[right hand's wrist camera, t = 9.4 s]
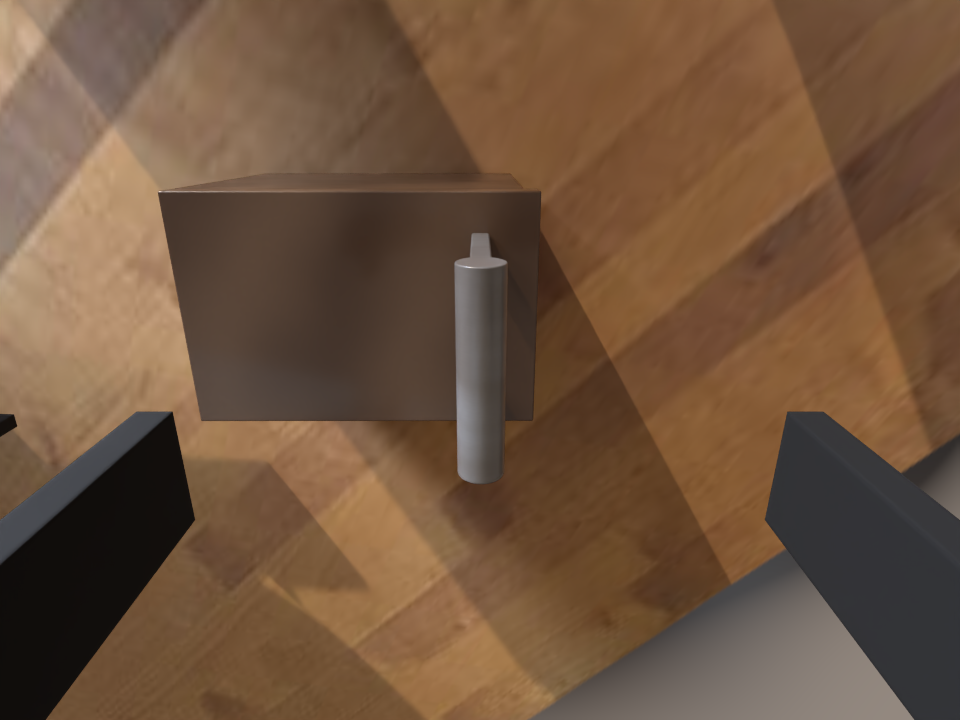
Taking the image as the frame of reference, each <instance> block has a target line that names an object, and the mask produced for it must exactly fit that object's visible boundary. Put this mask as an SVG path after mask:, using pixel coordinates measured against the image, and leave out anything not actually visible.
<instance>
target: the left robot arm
mask: <svg viewBox="0 0 960 720" xmlns="http://www.w3.org/2000/svg"><path fill="white" fill-rule="evenodd" d="M15 427H17V424H16V420H15V416H14V414H0V437H1V436H2V435H4V434H6V433H7V432H9V431H10V430H12V429H14V428H15Z"/></svg>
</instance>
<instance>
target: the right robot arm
mask: <svg viewBox="0 0 960 720" xmlns="http://www.w3.org/2000/svg"><path fill="white" fill-rule="evenodd" d="M194 521H195V517H194V512H193V507H192V503H191V498H190V493H189V488H188V484H187V479H186V474H185V469H184V464H183V460H182V455H181V450H180V445H179V440H178V436H177V431H176V426H175V421H174V416H173V412H136V413H134V414H133V415H132V416H131V417H129V418H128V419H127V420H126V421H124V422H123V423H122V424H121V425H119V426H118V427H117V428H116V429H114V430H113V431H112V432H111V433H109V434H108V435H107V436H105V437H104V438H103V439H102V440H100V441H99V442H98V443H97V444H95V445H94V446H93V447H92V448H90V449H89V450H88V451H87V452H85V453H84V454H83V455H82V456H80V457H79V458H78V459H77V460H75V461H74V462H73V463H72V464H70V465H69V466H68V467H66V468H65V469H64V470H63V471H61V472H60V473H59V474H58V475H56V476H55V477H54V478H53V479H51V480H50V481H49V482H48V483H46V484H45V485H44V486H43V487H41V488H40V489H39V490H38V491H36V492H35V493H34V494H33V495H31V496H30V497H29V498H27V499H26V500H25V501H24V502H22V503H21V504H20V505H19V506H17V507H16V508H15V509H14V510H12V511H11V512H10V513H9V514H7V515H6V516H5V517H4V518H2V519H1V520H0V720H46V718H47V717H48V716H49V714H50V713H51V712H52V710H53V709H54V708H55V706H56V705H57V704H58V702H59V701H60V700H61V698H62V697H63V696H64V694H65V693H66V692H67V690H68V689H69V688H70V686H71V685H72V684H73V682H74V681H75V680H76V678H77V677H78V676H79V674H80V673H81V672H82V670H83V669H84V668H85V666H86V665H87V664H88V662H89V661H90V660H91V658H92V657H93V656H94V654H95V653H96V652H97V650H98V649H99V648H100V646H101V645H102V644H103V642H104V641H105V640H106V638H107V637H108V636H109V634H110V633H111V632H112V630H113V629H114V628H115V626H116V625H117V624H118V622H119V621H120V620H121V618H122V617H123V616H124V614H125V613H126V612H127V610H128V609H129V607H130V606H131V605H132V603H133V602H134V601H135V599H136V598H137V597H138V595H139V594H140V593H141V591H142V590H143V589H144V587H145V586H146V585H147V583H148V582H149V581H150V579H151V578H152V577H153V575H154V574H155V573H156V571H157V570H158V569H159V567H160V566H161V565H162V563H163V562H164V561H165V559H166V558H167V557H168V555H169V554H170V553H171V551H172V550H173V549H174V547H175V546H176V545H177V543H178V542H179V541H180V539H181V538H182V537H183V535H184V534H185V533H186V531H187V530H188V529H189V527H190V526H191V525H192V523H193V522H194ZM765 521H766V522H767V523H768V525H769V526H770V527H771V529H772V530H773V531H774V533H775V534H776V535H777V537H778V538H779V539H780V541H781V542H782V543H783V545H784V546H785V547H786V549H787V550H788V551H789V553H790V554H791V555H792V557H793V558H794V559H795V561H796V562H797V563H798V565H799V566H800V567H801V569H802V570H803V571H804V573H805V574H806V575H807V577H808V578H809V579H810V581H811V582H812V583H813V585H814V586H815V587H816V589H817V590H818V591H819V593H820V594H821V595H822V597H823V598H824V599H825V601H826V602H827V603H828V605H829V606H830V607H831V609H832V610H833V612H834V613H835V614H836V616H837V617H838V618H839V620H840V621H841V622H842V623H843V625H844V626H845V628H846V629H847V630H848V632H849V633H850V634H851V636H852V637H853V638H854V640H855V641H856V642H857V644H858V645H859V646H860V648H861V649H862V650H863V652H864V653H865V654H866V656H867V657H868V658H869V660H870V661H871V662H872V664H873V665H874V666H875V668H876V669H877V670H878V672H879V673H880V674H881V676H882V677H883V678H884V680H885V681H886V682H887V684H888V685H889V686H890V688H891V689H892V690H893V692H894V693H895V694H896V696H897V697H898V698H899V700H900V701H901V702H902V704H903V705H904V706H905V708H906V709H907V710H908V712H909V713H910V714H911V716H912V717H913V718H914V720H960V520H959V519H958V518H956V517H955V516H954V515H953V514H951V513H950V512H949V511H948V510H946V509H945V508H944V507H943V506H941V505H940V504H939V503H938V502H936V501H935V500H934V499H933V498H931V497H930V496H929V495H927V494H926V493H925V492H924V491H922V490H921V489H920V488H919V487H917V486H916V485H915V484H914V483H912V482H911V481H910V480H909V479H907V478H906V477H905V476H904V475H902V474H901V473H900V472H899V471H897V470H896V469H895V468H894V467H892V466H891V465H890V464H888V463H887V462H886V461H885V460H883V459H882V458H881V457H880V456H878V455H877V454H876V453H875V452H873V451H872V450H871V449H870V448H868V447H867V446H866V445H865V444H863V443H862V442H861V441H860V440H858V439H857V438H856V437H855V436H853V435H852V434H851V433H849V432H848V431H847V430H846V429H844V428H843V427H842V426H841V425H839V424H838V423H837V422H836V421H834V420H833V419H832V418H831V417H829V416H828V415H827V414H826V413H824V412H787V416H786V421H785V426H784V431H783V436H782V440H781V445H780V450H779V455H778V460H777V464H776V469H775V474H774V479H773V484H772V488H771V493H770V498H769V503H768V507H767V512H766V517H765Z"/></svg>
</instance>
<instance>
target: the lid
mask: <svg viewBox="0 0 960 720" xmlns="http://www.w3.org/2000/svg"><path fill="white" fill-rule="evenodd" d="M158 196H159V201H160V206H161V211H162V217H163V222H164V227H165V232H166V238H167V243H168V248H169V253H170V259H171V264H172V269H173V274H174V280H175V285H176V290H177V295H178V301H179V306H180V311H181V317H182V322H183V327H184V332H185V338H186V343H187V348H188V353H189V359H190V364H191V369H192V374H193V380H194V385H195V390H196V395H197V401H198V406H199V411H200V416H201V420H202V421H457V462H458V474H459V476H460V477H461V478H462V479H463V480H465V481H467V482H469V483H474V484H488V483H493V482H495V481H497V480H499V479H500V478H501V477H502V476H503V474H504V456H505V421H532V420H533V406H534V378H535V350H536V323H537V295H538V268H539V240H540V212H541V191H540V190H538V189H169V190H163V191H158Z"/></svg>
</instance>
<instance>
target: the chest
mask: <svg viewBox="0 0 960 720" xmlns="http://www.w3.org/2000/svg"><path fill="white" fill-rule="evenodd" d="M176 189H524V188H523V187H522V186H521V185H520V184H519V183H518V182H517V181H516V180H515V178H514V177H513V176H512V175H511V174H261V175H255V176H249V177H243V178H237V179H231V180H224V181H218V182H212V183H206V184H200V185H194V186H188V187H182V188H176Z"/></svg>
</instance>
